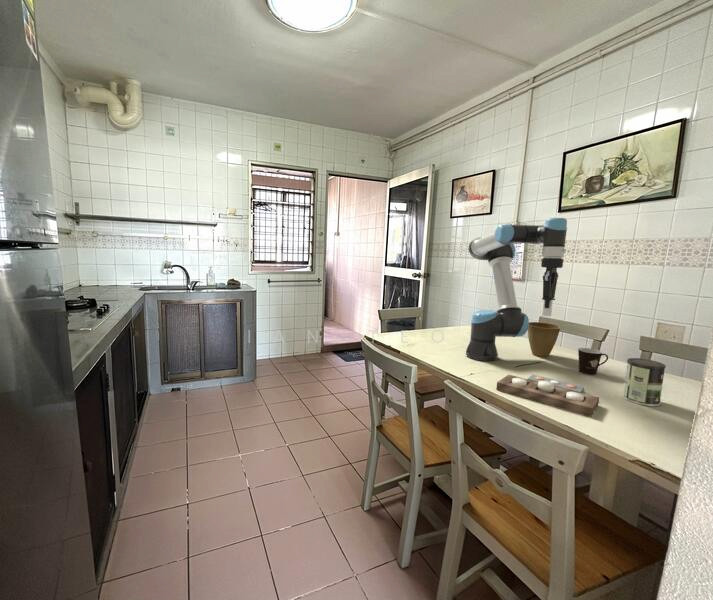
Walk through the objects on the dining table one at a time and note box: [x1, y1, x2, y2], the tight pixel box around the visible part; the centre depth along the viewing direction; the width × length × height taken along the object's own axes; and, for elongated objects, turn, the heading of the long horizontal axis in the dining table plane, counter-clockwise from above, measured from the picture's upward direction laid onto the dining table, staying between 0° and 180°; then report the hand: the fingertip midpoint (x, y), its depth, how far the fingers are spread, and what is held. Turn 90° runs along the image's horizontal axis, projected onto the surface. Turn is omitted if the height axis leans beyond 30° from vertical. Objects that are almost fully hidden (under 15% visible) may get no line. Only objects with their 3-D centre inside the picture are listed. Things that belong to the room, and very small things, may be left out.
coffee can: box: [622, 357, 666, 407], centre depth 119 cm, size 10×10×14 cm
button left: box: [512, 377, 527, 387], centre depth 126 cm, size 5×5×2 cm
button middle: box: [538, 381, 554, 393], centre depth 120 cm, size 5×5×2 cm
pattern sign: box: [527, 374, 585, 394], centre depth 130 cm, size 18×7×2 cm, turn 46°
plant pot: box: [527, 321, 561, 358], centre depth 172 cm, size 15×15×16 cm
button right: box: [566, 392, 584, 402], centre depth 114 cm, size 5×5×2 cm
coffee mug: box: [577, 347, 609, 376], centre depth 146 cm, size 12×9×10 cm
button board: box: [496, 374, 600, 418], centre depth 120 cm, size 30×12×3 cm, turn 46°
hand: (546, 315), depth 137 cm, fingers closed
